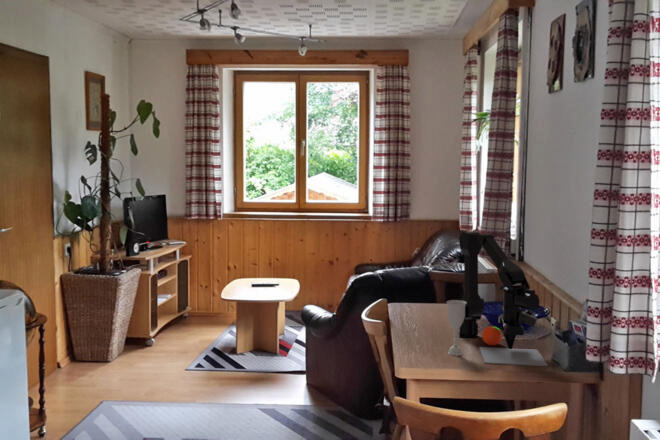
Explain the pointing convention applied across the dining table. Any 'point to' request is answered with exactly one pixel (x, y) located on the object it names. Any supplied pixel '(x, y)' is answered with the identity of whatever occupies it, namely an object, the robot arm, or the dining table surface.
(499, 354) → the mat
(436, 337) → the dining table surface
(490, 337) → the clementine
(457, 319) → the chalice
